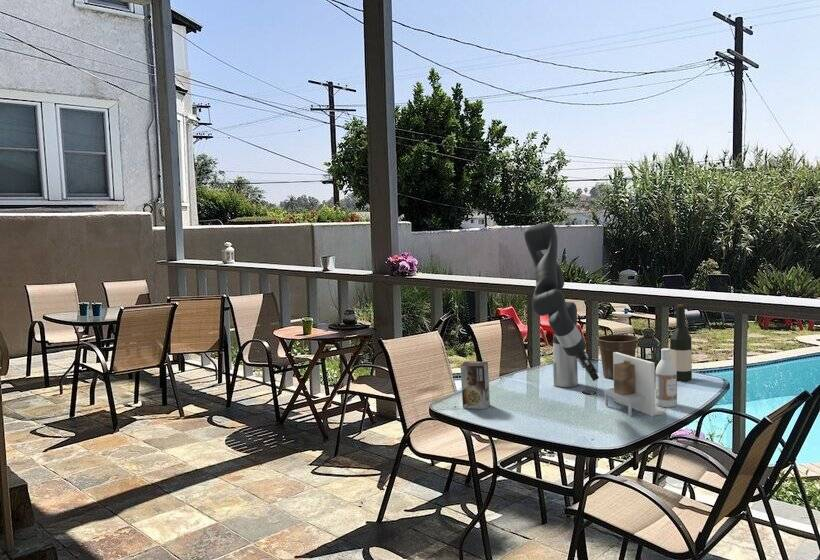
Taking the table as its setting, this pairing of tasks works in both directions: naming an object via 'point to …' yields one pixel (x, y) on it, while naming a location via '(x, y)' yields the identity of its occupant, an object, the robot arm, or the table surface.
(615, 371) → the brown tall block
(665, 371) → the bath foam
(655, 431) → the table surface
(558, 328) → the robot arm
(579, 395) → the table surface
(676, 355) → the wine bottle
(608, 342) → the plant pot
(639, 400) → the wall shelf
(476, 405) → the coffee box
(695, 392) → the table surface
